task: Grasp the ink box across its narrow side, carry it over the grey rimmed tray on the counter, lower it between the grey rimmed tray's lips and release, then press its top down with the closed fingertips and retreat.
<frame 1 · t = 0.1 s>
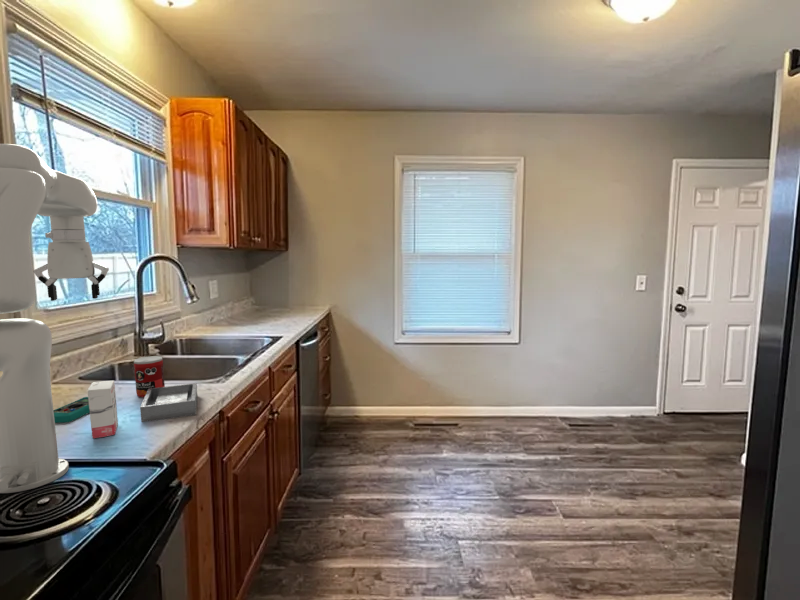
hand: (74, 299, 131), 31 cm above the countertop, tool pointing down, fingers open, 9 cm apart
canned food: (151, 394, 147), on the countertop
digital multimeter: (77, 415, 131), on the countertop
grey rimmed tray: (171, 408, 133), on the countertop
ink box: (105, 432, 117), on the countertop
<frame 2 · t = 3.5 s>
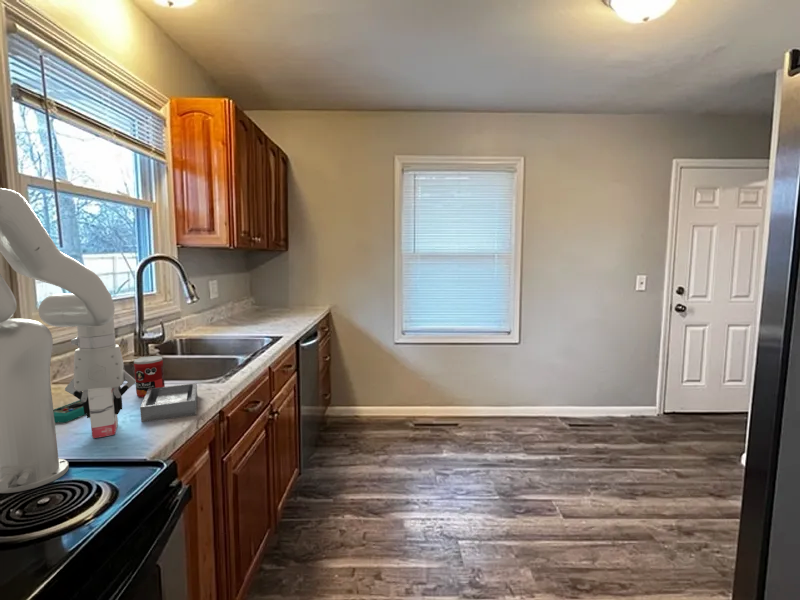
hand: (103, 413, 116), 4 cm above the countertop, tool pointing down, fingers closed on ink box, 5 cm apart
ink box: (105, 432, 117), on the countertop, touching gripper
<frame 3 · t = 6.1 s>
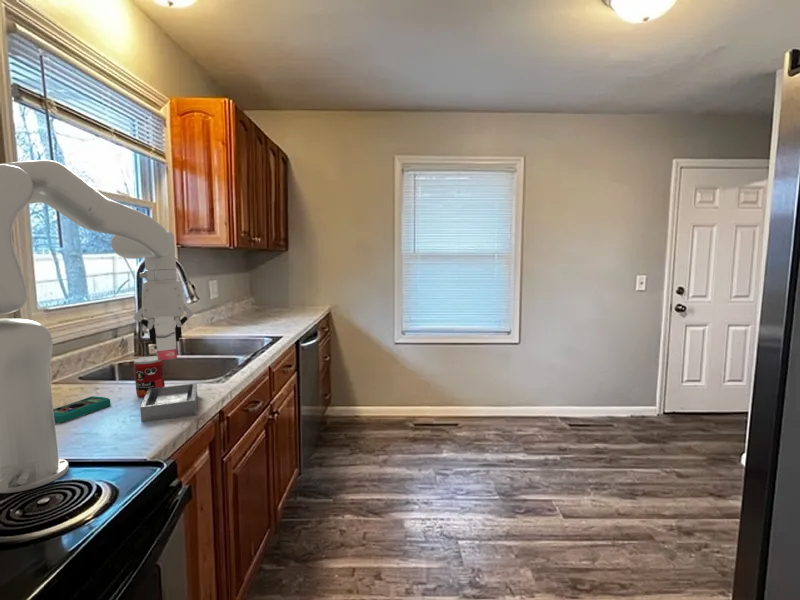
hand: (166, 341, 131), 19 cm above the countertop, tool pointing down, fingers closed on ink box, 5 cm apart
ink box: (167, 357, 131), point 15 cm above the countertop, touching gripper
everything else where it was.
when the fingers open (7 cm above the countertop, at t = 8.6 s): ink box stays where it is, resting on grey rimmed tray.
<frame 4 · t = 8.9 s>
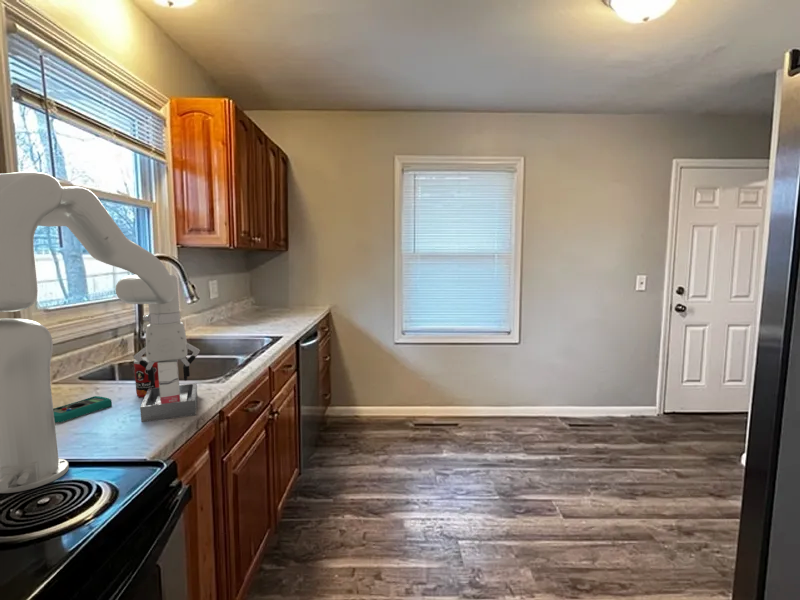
hand: (169, 380, 132), 8 cm above the countertop, tool pointing down, fingers open, 7 cm apart
ink box: (170, 402, 133), point 2 cm above the countertop, touching grey rimmed tray
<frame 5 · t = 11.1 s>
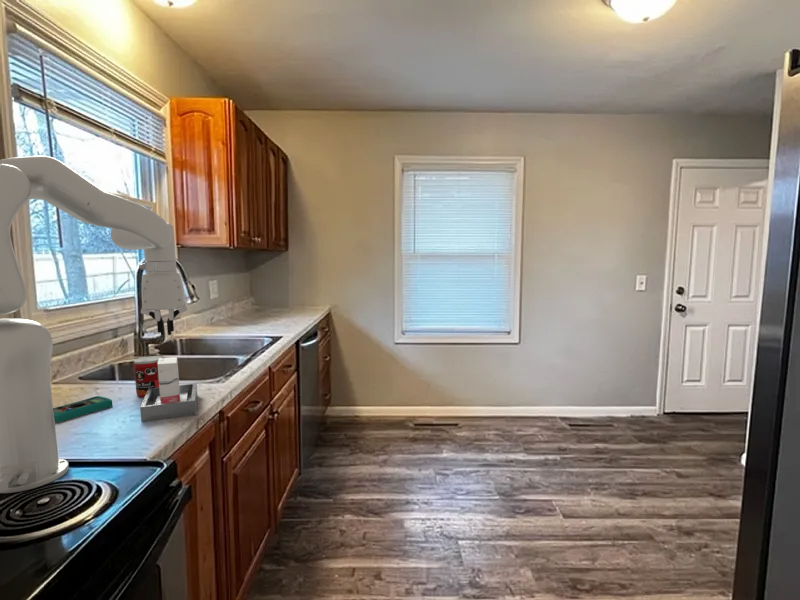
hand: (166, 334, 131), 21 cm above the countertop, tool pointing down, fingers closed
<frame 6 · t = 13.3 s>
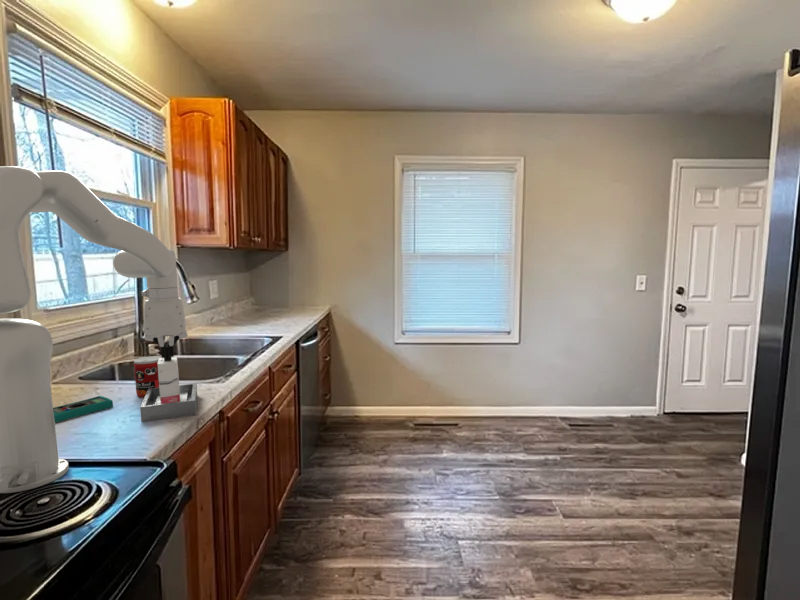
hand: (168, 359, 131), 14 cm above the countertop, tool pointing down, fingers closed
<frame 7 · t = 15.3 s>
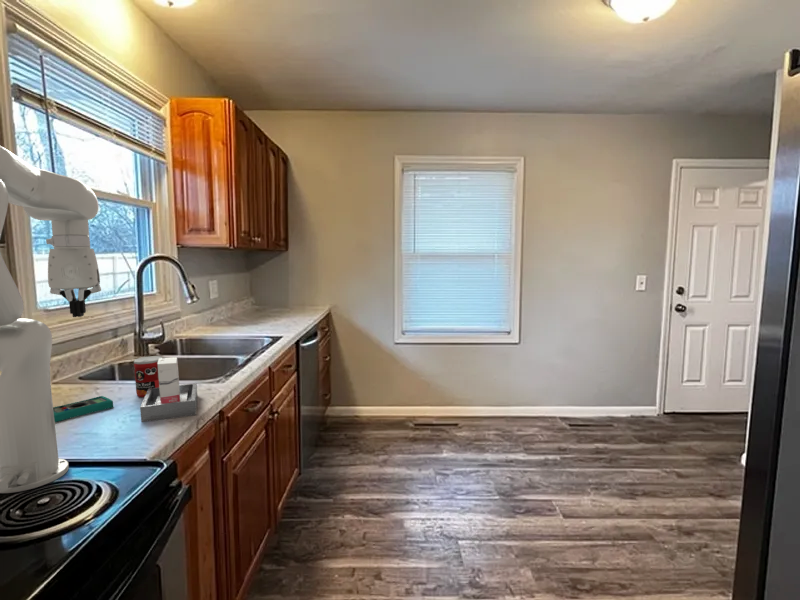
hand: (78, 316, 119), 28 cm above the countertop, tool pointing down, fingers closed
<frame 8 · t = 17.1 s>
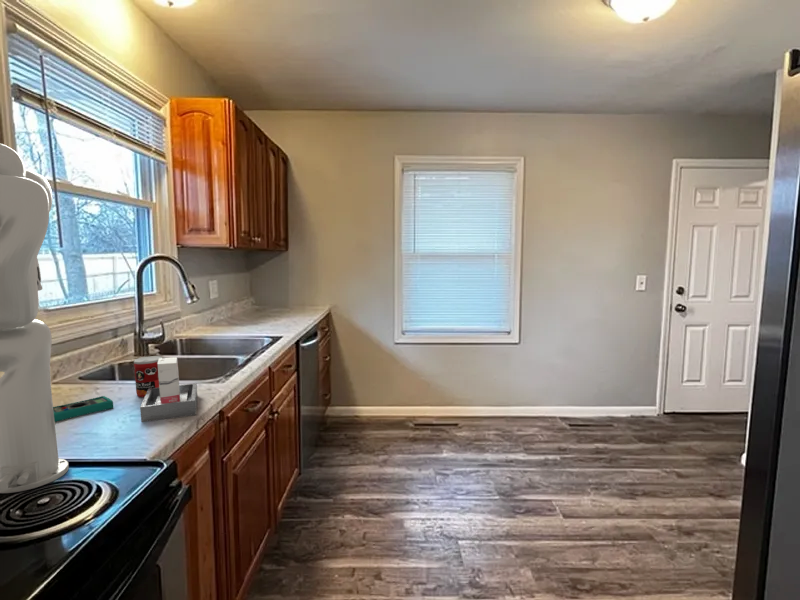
hand: (17, 316, 113), 29 cm above the countertop, tool pointing down, fingers closed
at the end: ink box inside the target area on the grey rimmed tray (0.1 cm from its centre), point 1.8 cm above the grey rimmed tray's base; ink box tilted 0°; the gripper is holding nothing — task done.
